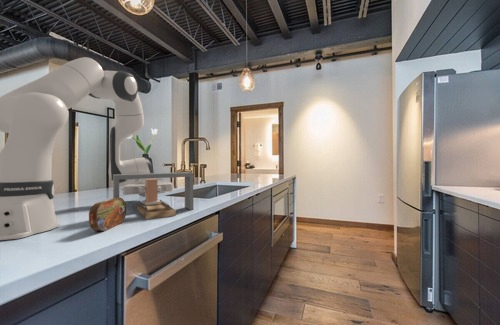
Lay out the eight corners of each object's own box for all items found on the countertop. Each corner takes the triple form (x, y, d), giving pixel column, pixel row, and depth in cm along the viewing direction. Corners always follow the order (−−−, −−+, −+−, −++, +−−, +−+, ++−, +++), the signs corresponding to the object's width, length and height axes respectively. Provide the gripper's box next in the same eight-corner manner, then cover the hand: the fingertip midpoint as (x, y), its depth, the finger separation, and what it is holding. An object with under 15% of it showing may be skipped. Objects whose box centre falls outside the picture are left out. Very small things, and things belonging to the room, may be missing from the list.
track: (146, 219, 81) (146, 211, 81) (137, 208, 99) (136, 201, 99) (175, 215, 86) (175, 207, 86) (161, 206, 104) (161, 199, 104)
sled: (145, 205, 94) (144, 180, 94) (142, 202, 100) (142, 178, 100) (160, 203, 97) (160, 179, 97) (157, 201, 103) (157, 178, 103)
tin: (97, 234, 64) (97, 204, 64) (86, 234, 65) (86, 204, 64) (127, 220, 80) (127, 195, 79) (118, 220, 80) (117, 195, 80)
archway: (114, 219, 82) (114, 175, 81) (113, 215, 87) (113, 174, 87) (193, 209, 97) (193, 172, 97) (188, 207, 102) (188, 172, 102)
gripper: (120, 181, 104) (123, 184, 92) (168, 179, 115) (176, 181, 103) (120, 195, 104) (123, 200, 92) (168, 192, 115) (176, 195, 103)
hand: (151, 190), depth 98 cm, fingers closed on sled, 4 cm apart
